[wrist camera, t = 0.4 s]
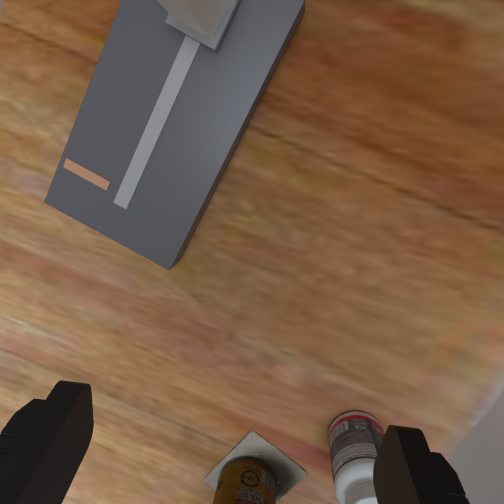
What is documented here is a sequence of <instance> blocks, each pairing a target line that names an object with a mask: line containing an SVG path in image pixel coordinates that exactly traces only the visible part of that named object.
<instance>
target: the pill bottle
mask: <svg viewBox="0 0 504 504" xmlns="http://www.w3.org/2000/svg"><path fill="white" fill-rule="evenodd" d="M384 436H385V433H384V430H383V428H382V426H381V424H380V423H379V422H378V421H377V420H376V419H375V418H374V417H373V416H371V415H369V414H367V413H363V412H359V411H353V412H348V413H344V414H342V415H340V416H339V417H337V418H336V419H335V420H334V421H333V423H332V424H331V426H330V429H329V446H330V454H331V463H332V474H333V481H334V490H335V494H336V497H337V499H338V501H339V503H340V504H378V503H377V498H376V494H375V489H374V483H373V467H374V462H375V459H376V457H377V454H378V451H379V449H380V446H381V444H382V441H383V438H384Z"/></svg>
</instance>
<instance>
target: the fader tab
mask: <svg viewBox="0 0 504 504" xmlns="http://www.w3.org/2000/svg"><path fill="white" fill-rule="evenodd" d="M157 1H158V2H159V3H160V4H161V5H162V6H163V7H164V8H165V9H166V10H167V11H168V13H169V14H168V17H167V19H166V21H165V23H166V24H167V25H169V26H171V27H173V28H174V29H176V30H178V31H180V32H181V33H183V34H185V35H187V36H189V37H190V38H192V39H194V40H196V41H198V42H199V43H201V44H203V45H205V46H206V47H208V48H210V49H212V50H214V51H215V52H216V51H217V49H218V47H219V45H220V42H221V40H222V38H223V36H224V34H225V31H226V29H227V27H228V25H229V23H230V21H231V18H232V16H233V14H234V12H235V10H236V7H237V5H238V3H239V1H240V0H157Z"/></svg>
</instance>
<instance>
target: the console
mask: <svg viewBox="0 0 504 504" xmlns="http://www.w3.org/2000/svg"><path fill="white" fill-rule="evenodd" d="M304 13H305V0H240V1H239V3H238V5H237V7H236V10H235V12H234V14H233V16H232V18H231V21H230V23H229V25H228V27H227V29H226V31H225V34H224V36H223V38H222V40H221V42H220V45H219V47H218V49H217V51H216V52H215V51H214V50H212V49H210V48H208V47H206V46H205V45H203V44H201V43H199V42H198V41H196V40H194V39H192V38H190V37H189V36H187V35H185V34H183V33H181V32H180V31H178V30H176V29H174V28H173V27H171V26H169V25H167V24H166V23H165V21H166V19H167V17H168V14H169V13H168V11H167V10H166V9H165V8H164V7H163V6H162V5H161V4H160V3H159V2H158V1H157V0H122V1H121V3H120V6H119V9H118V11H117V14H116V16H115V19H114V22H113V24H112V27H111V29H110V32H109V35H108V37H107V40H106V43H105V45H104V48H103V50H102V53H101V56H100V58H99V61H98V63H97V66H96V69H95V71H94V74H93V76H92V79H91V82H90V84H89V87H88V89H87V92H86V95H85V97H84V100H83V102H82V105H81V108H80V110H79V113H78V115H77V118H76V121H75V123H74V126H73V128H72V131H71V134H70V136H69V139H68V141H67V144H66V147H65V149H64V152H63V155H62V157H61V160H60V162H59V165H58V168H57V170H56V173H55V175H54V178H53V181H52V183H51V186H50V188H49V191H48V194H47V196H46V199H45V201H44V202H45V203H46V204H48V205H50V206H52V207H54V208H56V209H57V210H59V211H61V212H63V213H65V214H67V215H68V216H70V217H72V218H74V219H76V220H78V221H80V222H81V223H83V224H85V225H87V226H89V227H91V228H92V229H94V230H96V231H98V232H100V233H102V234H103V235H105V236H107V237H109V238H111V239H113V240H115V241H116V242H118V243H120V244H122V245H124V246H126V247H127V248H129V249H131V250H133V251H135V252H137V253H138V254H140V255H142V256H144V257H146V258H148V259H150V260H151V261H153V262H155V263H157V264H159V265H161V266H162V267H164V268H166V269H168V270H170V269H171V268H172V267H174V266H175V265H176V264H177V263H178V262H179V261H180V259H181V257H182V255H183V253H184V251H185V249H186V247H187V245H188V243H189V241H190V239H191V237H192V235H193V233H194V231H195V229H196V227H197V225H198V223H199V221H200V219H201V217H202V215H203V213H204V211H205V209H206V207H207V205H208V203H209V201H210V199H211V197H212V195H213V193H214V191H215V189H216V187H217V185H218V183H219V181H220V179H221V177H222V175H223V173H224V171H225V169H226V167H227V165H228V163H229V161H230V159H231V157H232V155H233V153H234V151H235V150H236V148H237V146H238V144H239V142H240V140H241V138H242V136H243V134H244V132H245V130H246V128H247V126H248V124H249V122H250V120H251V118H252V116H253V114H254V112H255V110H256V108H257V106H258V104H259V102H260V100H261V98H262V96H263V94H264V92H265V90H266V88H267V86H268V84H269V82H270V80H271V78H272V76H273V74H274V72H275V70H276V68H277V66H278V64H279V62H280V60H281V58H282V56H283V54H284V52H285V50H286V48H287V46H288V44H289V42H290V40H291V38H292V36H293V34H294V32H295V30H296V29H297V27H298V25H299V23H300V21H301V19H302V17H303V15H304Z"/></svg>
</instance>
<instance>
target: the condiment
mask: <svg viewBox="0 0 504 504" xmlns="http://www.w3.org/2000/svg"><path fill="white" fill-rule="evenodd" d="M256 453H258V454H259V455H255V454H256ZM251 454H254V456H252V455H251ZM306 475H307V473H306V472H305V471H304V470H302V469H301V467H300V466H298V465H297V464H296V463H294V462H293V461H292V460H290V459H289V458H288V457H287V456H286V455H284V454H283V453H282V452H280V451H279V450H278V449H277V448H276V447H275V446H272V445H271V444H269V443H268V442H267V441H266V440H265V439H263V438H262V437H260V436H259V435H257V434H256V433H255V432H254V431H251V432H250V433H249V434H248V435H247V436H246V437H245V438H244V439H243V440H242V441H241V442H240V443H239V444H238V445H237V446H236V447H235V448H234V449H233V450H232V451H231V452H230V453H229V454H228V455H227V456H226V457H225V458H224V459H223V460H222V461H221V462H220V463H219V464H218V465H217V466H216V467H215V468H214V469H213V470H212V471H211V473H210V474H208V476H207V477H206V478H205V479H204V480H203V482H204V483H206V484H207V485H208V486H210V487H211V488H213V489H214V490H215V491H216V492H215V497H214V501H213V504H276V502H277V501H278V500H279V499H280V498H281V497H282V496H284V495H285V494H286V493H287V492H288V491H289V490H290V489H291V488H292V487H293V486H294V485H296V484H297V483H298V482H299V481H300V480H302V479H303V478H304V477H305V476H306ZM278 482H280V483H278Z"/></svg>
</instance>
